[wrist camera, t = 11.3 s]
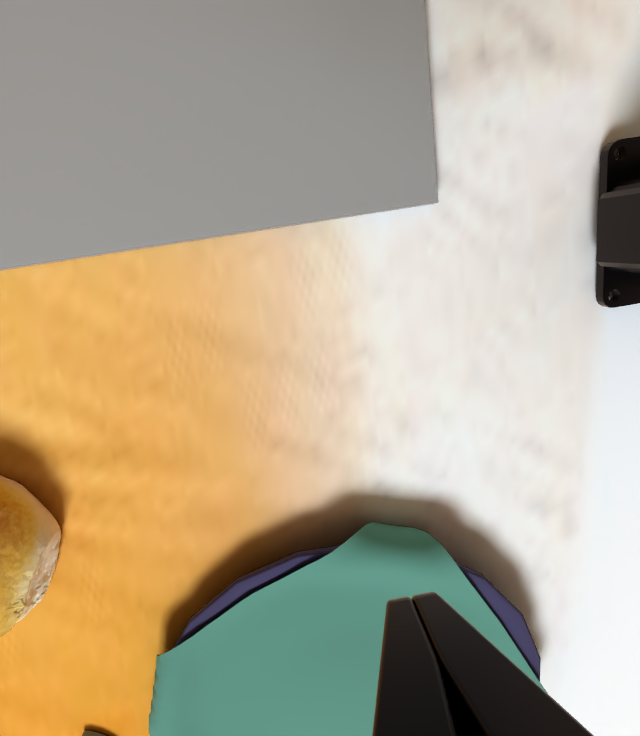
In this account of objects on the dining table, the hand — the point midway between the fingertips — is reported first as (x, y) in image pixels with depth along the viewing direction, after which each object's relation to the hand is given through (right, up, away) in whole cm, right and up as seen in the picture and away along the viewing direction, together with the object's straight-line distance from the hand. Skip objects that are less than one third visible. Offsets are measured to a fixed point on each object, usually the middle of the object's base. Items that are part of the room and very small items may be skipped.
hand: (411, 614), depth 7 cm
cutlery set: (-4, -16, +17) cm, 24 cm away
